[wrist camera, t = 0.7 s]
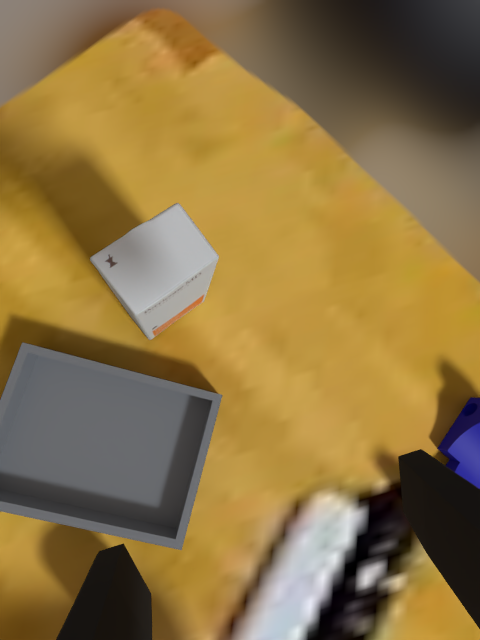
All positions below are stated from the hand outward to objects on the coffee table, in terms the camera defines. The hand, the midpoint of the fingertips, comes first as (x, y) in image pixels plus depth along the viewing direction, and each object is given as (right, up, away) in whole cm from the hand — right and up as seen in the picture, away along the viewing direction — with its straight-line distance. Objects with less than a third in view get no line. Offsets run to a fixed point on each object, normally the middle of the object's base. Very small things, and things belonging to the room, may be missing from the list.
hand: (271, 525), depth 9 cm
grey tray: (-11, -4, +20) cm, 24 cm away
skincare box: (-7, +7, +23) cm, 25 cm away
